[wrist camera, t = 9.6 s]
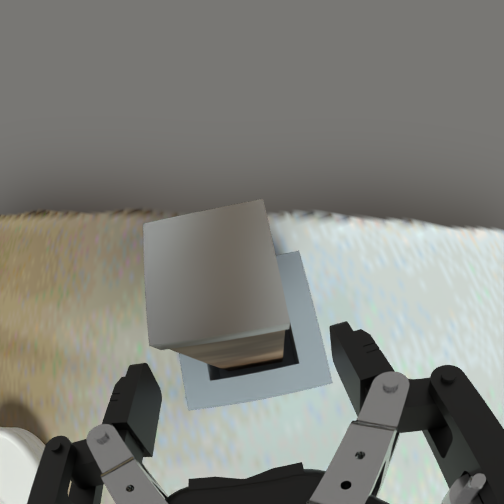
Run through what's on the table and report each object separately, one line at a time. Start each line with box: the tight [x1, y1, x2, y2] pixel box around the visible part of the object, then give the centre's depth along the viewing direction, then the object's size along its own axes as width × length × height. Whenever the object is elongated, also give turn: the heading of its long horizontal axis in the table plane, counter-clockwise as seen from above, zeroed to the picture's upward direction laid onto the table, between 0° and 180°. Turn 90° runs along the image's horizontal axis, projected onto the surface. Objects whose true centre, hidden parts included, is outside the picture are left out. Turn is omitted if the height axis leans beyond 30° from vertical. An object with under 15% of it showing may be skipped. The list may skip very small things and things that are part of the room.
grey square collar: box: [179, 251, 332, 410], centre depth 22 cm, size 9×9×5 cm
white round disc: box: [0, 427, 45, 504], centre depth 19 cm, size 10×10×4 cm
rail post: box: [143, 199, 290, 371], centre depth 17 cm, size 4×4×15 cm
